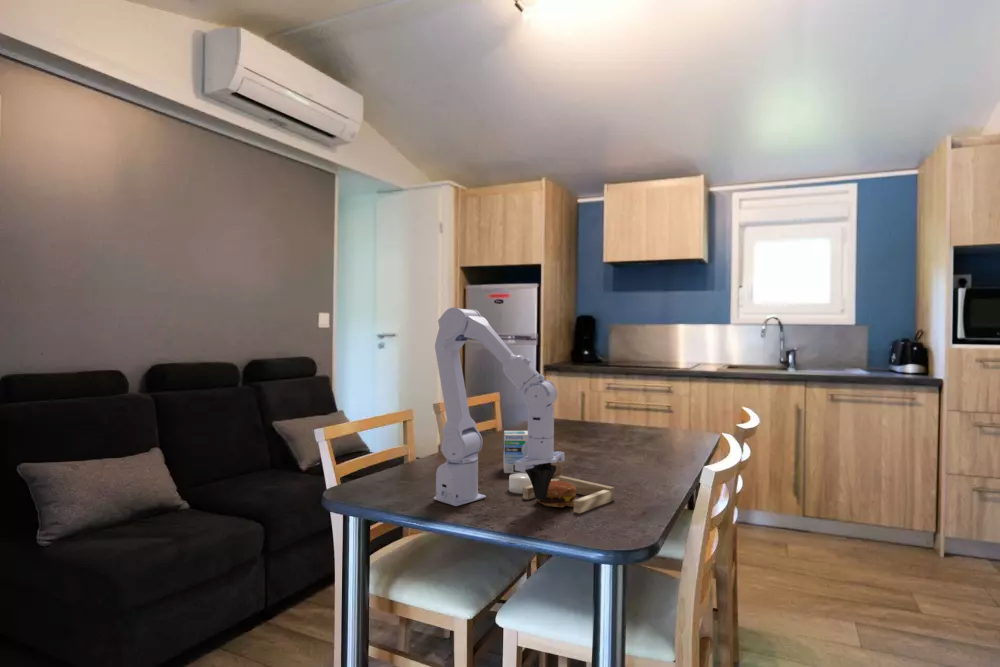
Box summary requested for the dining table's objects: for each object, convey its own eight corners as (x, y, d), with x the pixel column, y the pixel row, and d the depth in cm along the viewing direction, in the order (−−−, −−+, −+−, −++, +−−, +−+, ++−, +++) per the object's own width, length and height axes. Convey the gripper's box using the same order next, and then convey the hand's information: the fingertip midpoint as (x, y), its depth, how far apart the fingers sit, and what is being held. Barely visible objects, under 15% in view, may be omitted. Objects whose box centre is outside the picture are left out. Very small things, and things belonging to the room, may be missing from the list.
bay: (579, 513, 120) (579, 499, 120) (523, 498, 131) (523, 485, 131) (614, 500, 130) (614, 487, 130) (558, 487, 141) (559, 475, 141)
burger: (544, 494, 134) (545, 475, 134) (582, 500, 130) (582, 480, 130) (528, 506, 125) (528, 485, 125) (567, 512, 121) (568, 490, 121)
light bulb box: (503, 473, 155) (503, 434, 155) (502, 468, 161) (502, 430, 161) (542, 473, 155) (542, 434, 155) (540, 467, 162) (540, 430, 162)
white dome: (522, 495, 134) (522, 480, 134) (504, 490, 138) (504, 476, 138) (538, 490, 138) (538, 476, 138) (520, 485, 143) (520, 472, 143)
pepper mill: (555, 488, 140) (555, 460, 140) (542, 485, 143) (542, 457, 143) (565, 485, 143) (565, 457, 143) (552, 482, 146) (552, 455, 146)
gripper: (532, 443, 115) (532, 510, 115) (575, 434, 126) (575, 495, 126) (507, 439, 120) (507, 502, 120) (550, 430, 131) (550, 489, 131)
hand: (540, 498), depth 123 cm, fingers closed
